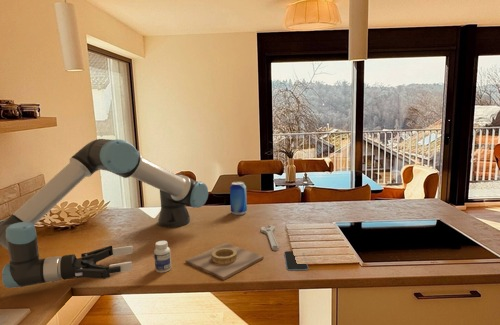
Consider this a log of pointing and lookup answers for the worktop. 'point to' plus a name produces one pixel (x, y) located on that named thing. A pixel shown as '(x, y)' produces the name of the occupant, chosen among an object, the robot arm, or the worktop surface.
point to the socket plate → (224, 268)
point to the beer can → (238, 198)
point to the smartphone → (293, 262)
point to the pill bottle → (162, 257)
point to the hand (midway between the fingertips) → (132, 257)
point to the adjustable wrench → (270, 236)
